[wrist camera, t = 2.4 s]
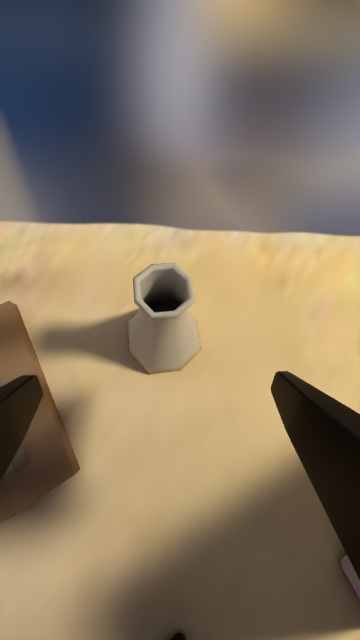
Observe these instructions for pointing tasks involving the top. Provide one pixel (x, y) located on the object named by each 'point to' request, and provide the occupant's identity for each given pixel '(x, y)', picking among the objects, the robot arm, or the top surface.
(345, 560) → the cake pan box
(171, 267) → the flask
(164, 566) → the top surface
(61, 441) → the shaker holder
